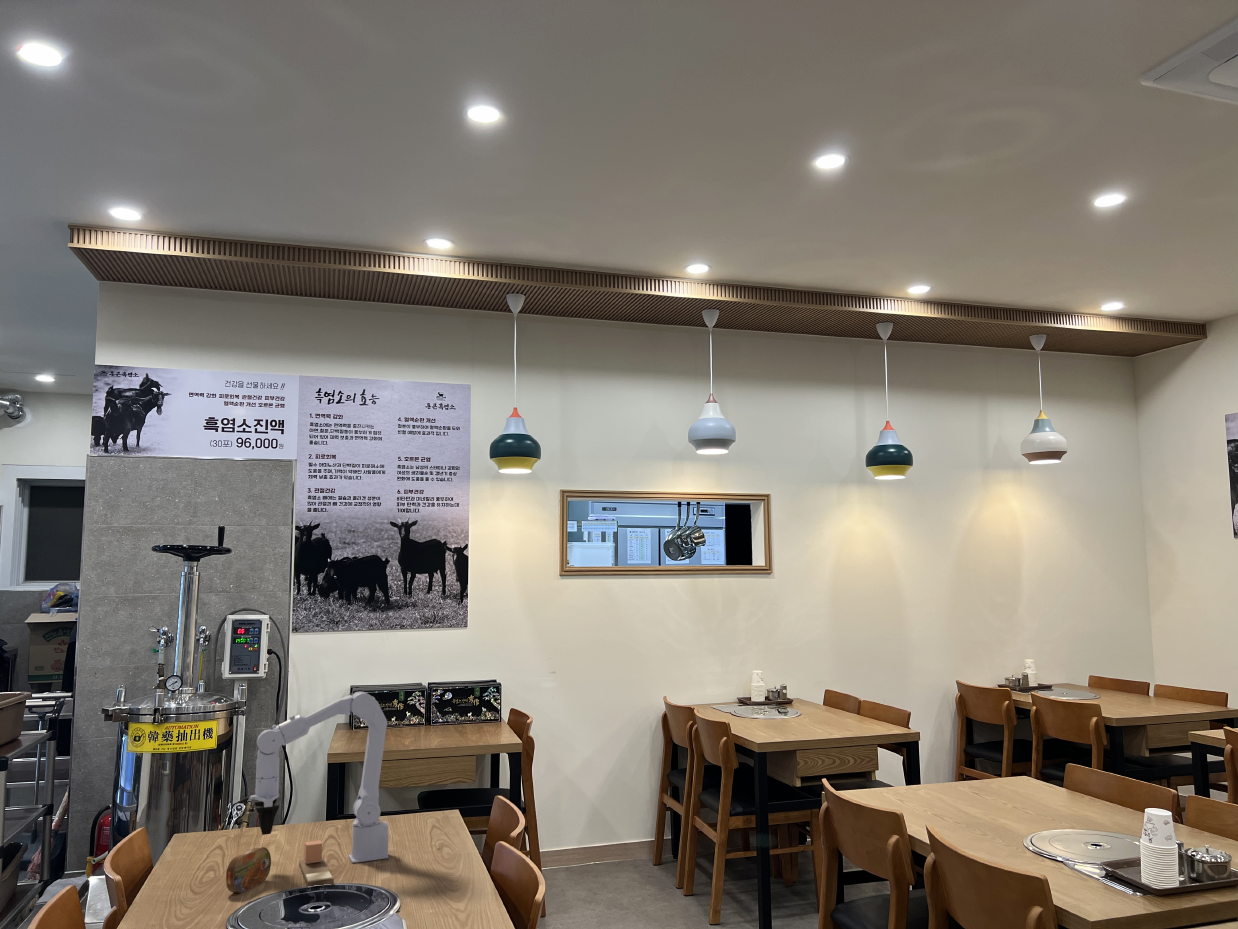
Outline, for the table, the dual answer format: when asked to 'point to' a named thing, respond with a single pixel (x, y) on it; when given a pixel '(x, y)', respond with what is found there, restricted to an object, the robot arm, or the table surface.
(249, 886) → the tin
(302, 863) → the track
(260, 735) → the robot arm
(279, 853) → the table surface
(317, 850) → the slider
